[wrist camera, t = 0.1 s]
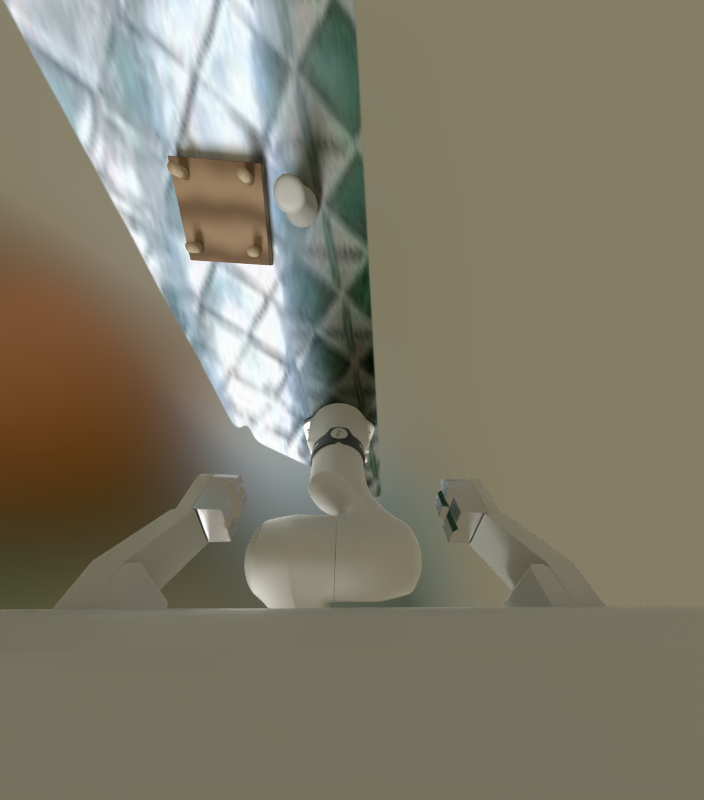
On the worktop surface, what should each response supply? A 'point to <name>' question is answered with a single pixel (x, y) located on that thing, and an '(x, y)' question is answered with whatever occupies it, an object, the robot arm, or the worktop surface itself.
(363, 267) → the worktop surface
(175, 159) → the peg stand
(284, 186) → the salt shaker
